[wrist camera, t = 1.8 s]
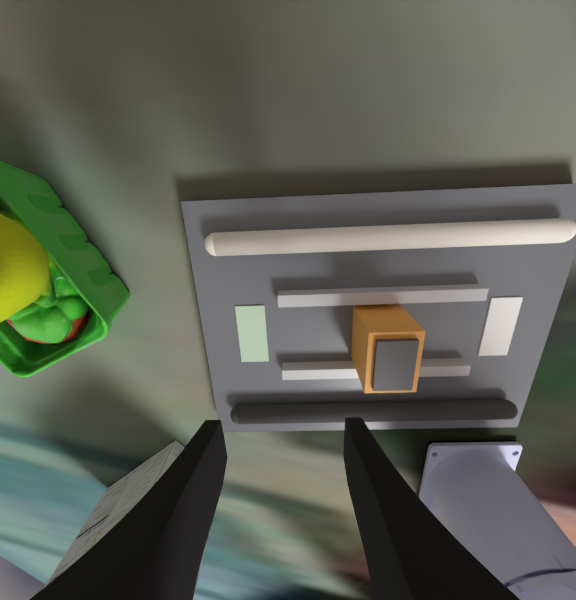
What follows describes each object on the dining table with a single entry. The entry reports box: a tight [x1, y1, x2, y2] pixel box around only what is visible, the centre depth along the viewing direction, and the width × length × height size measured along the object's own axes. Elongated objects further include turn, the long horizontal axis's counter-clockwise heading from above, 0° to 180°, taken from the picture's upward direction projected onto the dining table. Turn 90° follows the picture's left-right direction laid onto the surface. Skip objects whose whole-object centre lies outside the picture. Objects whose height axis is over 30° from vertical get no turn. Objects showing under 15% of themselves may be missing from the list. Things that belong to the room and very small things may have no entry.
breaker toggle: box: [351, 304, 425, 393], centre depth 17 cm, size 4×3×4 cm
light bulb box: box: [44, 440, 211, 598], centre depth 22 cm, size 11×7×11 cm, turn 130°
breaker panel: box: [181, 184, 576, 432], centre depth 19 cm, size 18×24×2 cm
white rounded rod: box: [204, 218, 576, 256], centre depth 16 cm, size 1×21×1 cm, turn 92°
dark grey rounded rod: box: [230, 399, 518, 424], centre depth 21 cm, size 1×21×1 cm, turn 92°
